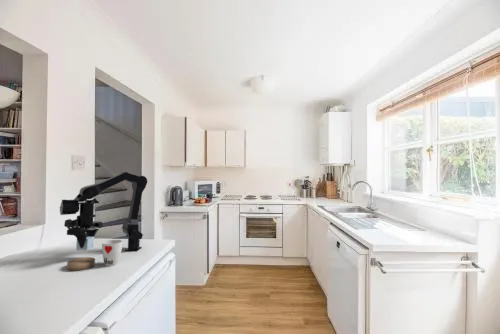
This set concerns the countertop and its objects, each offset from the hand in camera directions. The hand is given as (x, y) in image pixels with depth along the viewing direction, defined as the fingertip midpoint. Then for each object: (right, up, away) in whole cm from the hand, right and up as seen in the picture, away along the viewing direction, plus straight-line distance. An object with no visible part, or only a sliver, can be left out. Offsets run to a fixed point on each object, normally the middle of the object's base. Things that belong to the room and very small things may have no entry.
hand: (85, 246), depth 124 cm
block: (0, -1, 0) cm, 1 cm away
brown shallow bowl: (+5, -6, -11) cm, 13 cm away
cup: (+16, -6, -7) cm, 18 cm away
